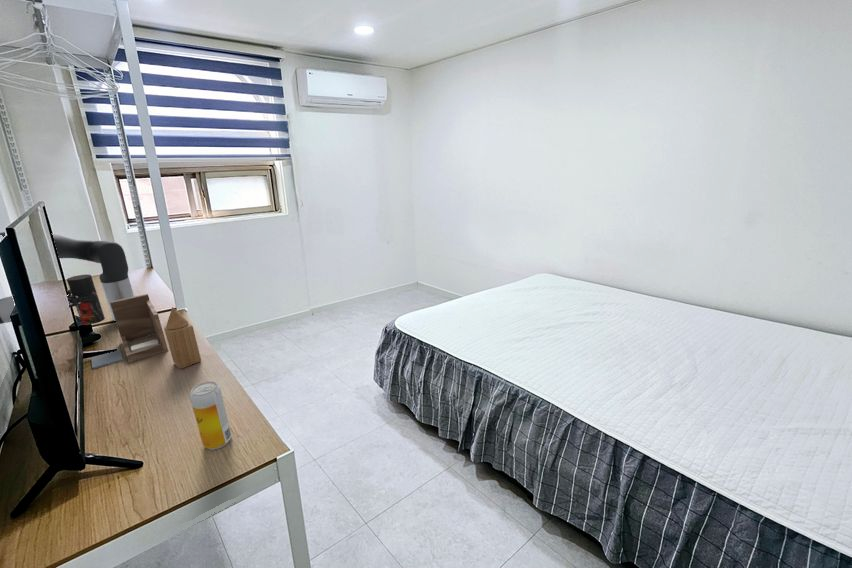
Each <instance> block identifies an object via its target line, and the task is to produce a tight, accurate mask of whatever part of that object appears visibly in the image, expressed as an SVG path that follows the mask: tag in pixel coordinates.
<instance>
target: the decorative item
mask: <svg viewBox="0 0 852 568" xmlns="http://www.w3.org/2000/svg"><path fill="white" fill-rule="evenodd" d="M167 319H168V320H167V321H166V326H165V327H164V332H165V338H166V340H167V344H168V347H169V351H170V354H171V358H172V362H173V363H174V364H175V366H176V367H178V369H181V370H182V369H185V368H187V367H191V366H192V364H193V365H195V364H197V363H200V362H201V361H202V358H201V355H200V354H201V353H200V350H199V346H198V342H197V341H198V340H197V337H196V334H195V330H194V326H193V325H192V324H191V323H190V322H189V321H188V320H187V319H186V318H185V317H184V316H183V315H182V314H181V313H180V312H179V311H178V310H177V309H176V308H175V307H173V306H172V307H171V310H170V314H169V316H168V318H167Z"/></svg>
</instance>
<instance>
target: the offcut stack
mask: <svg viewBox="0 0 852 568" xmlns="http://www.w3.org/2000/svg"><path fill="white" fill-rule="evenodd" d="M156 345H160V342H159V340H158V338H156V339H152V340H149V341H145V342H141V343H138V344H134V345H131V346H130V352H131V353H132V352H135V351H139V350H142V349H146V348H149V347H153V346H156Z"/></svg>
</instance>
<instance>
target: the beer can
mask: <svg viewBox="0 0 852 568" xmlns="http://www.w3.org/2000/svg"><path fill="white" fill-rule="evenodd" d="M189 399H190V404H191V406H192V410H193V414H194V417H195V421H196V424H197V428H198V431H199V435H200V439H201V443H202V446H203V447H204V448H205V449H208V450H211V451H214V450H219V449H221V448H223V447H224V446H226V445H228V443H229V441H230V439H232V431H231V426H230V422H229V420H228V414H227V411H226V410H227V409H226V407H225V403H224V398H223V395H222V389H221V387H220V386H219V384H218V383H217V382H216V381H210V380H209V381H205V382H201V383H199V384H197V385H195V386H194V387H192V388H191V390H190V395H189Z"/></svg>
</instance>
